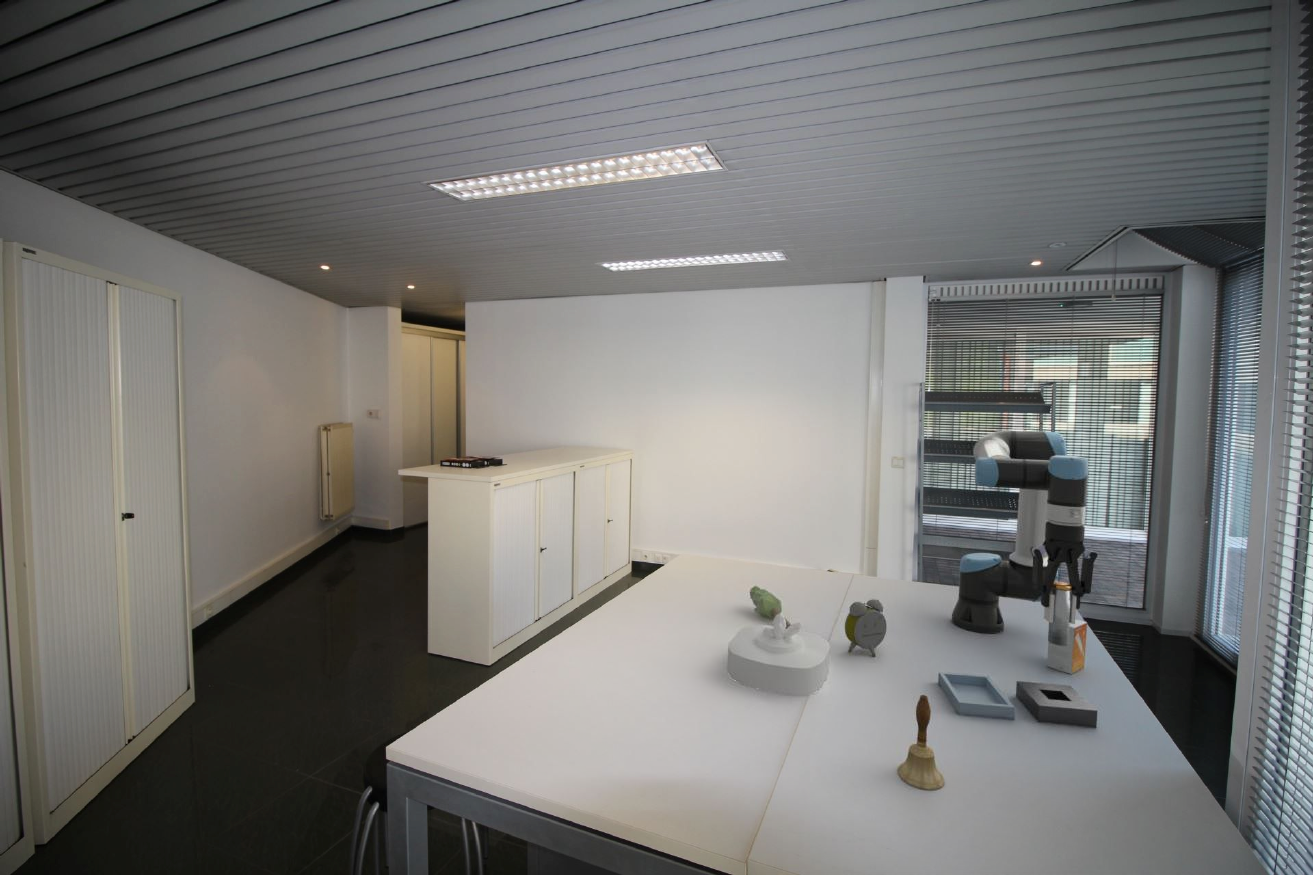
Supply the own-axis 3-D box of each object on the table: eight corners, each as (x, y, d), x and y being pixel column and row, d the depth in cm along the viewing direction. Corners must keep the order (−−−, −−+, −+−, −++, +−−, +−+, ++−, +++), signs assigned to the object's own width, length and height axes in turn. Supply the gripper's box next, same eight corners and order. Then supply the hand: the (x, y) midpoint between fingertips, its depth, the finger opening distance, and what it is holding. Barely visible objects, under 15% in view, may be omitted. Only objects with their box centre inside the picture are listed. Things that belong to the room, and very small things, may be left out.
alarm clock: (873, 645, 178) (875, 595, 177) (890, 654, 172) (892, 603, 171) (842, 650, 174) (844, 600, 173) (858, 660, 167) (860, 608, 166)
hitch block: (1015, 696, 148) (1016, 680, 148) (1068, 701, 146) (1069, 685, 146) (1038, 722, 136) (1039, 705, 136) (1096, 727, 134) (1097, 710, 134)
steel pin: (1044, 638, 142) (1048, 580, 141) (1063, 639, 142) (1066, 581, 141) (1052, 645, 138) (1056, 586, 137) (1071, 646, 138) (1075, 587, 137)
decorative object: (805, 627, 189) (768, 588, 212) (790, 609, 186) (754, 572, 209) (785, 646, 189) (750, 605, 212) (769, 629, 185) (735, 588, 208)
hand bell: (889, 764, 119) (893, 687, 118) (929, 762, 120) (933, 685, 119) (911, 791, 111) (914, 708, 110) (953, 789, 112) (957, 707, 111)
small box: (1071, 675, 160) (1074, 627, 159) (1046, 666, 165) (1048, 620, 165) (1085, 667, 165) (1087, 621, 164) (1059, 659, 170) (1062, 614, 169)
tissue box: (833, 662, 166) (835, 606, 165) (816, 703, 144) (818, 638, 143) (747, 645, 177) (748, 592, 176) (718, 680, 155) (719, 620, 154)
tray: (938, 682, 155) (938, 671, 154) (987, 687, 153) (988, 675, 152) (958, 714, 139) (959, 702, 139) (1014, 720, 137) (1015, 707, 137)
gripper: (1032, 524, 136) (1026, 624, 137) (1115, 527, 133) (1108, 629, 135) (1018, 517, 143) (1013, 612, 145) (1096, 520, 140) (1090, 617, 142)
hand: (1059, 620), depth 140 cm, fingers closed on steel pin, 4 cm apart
